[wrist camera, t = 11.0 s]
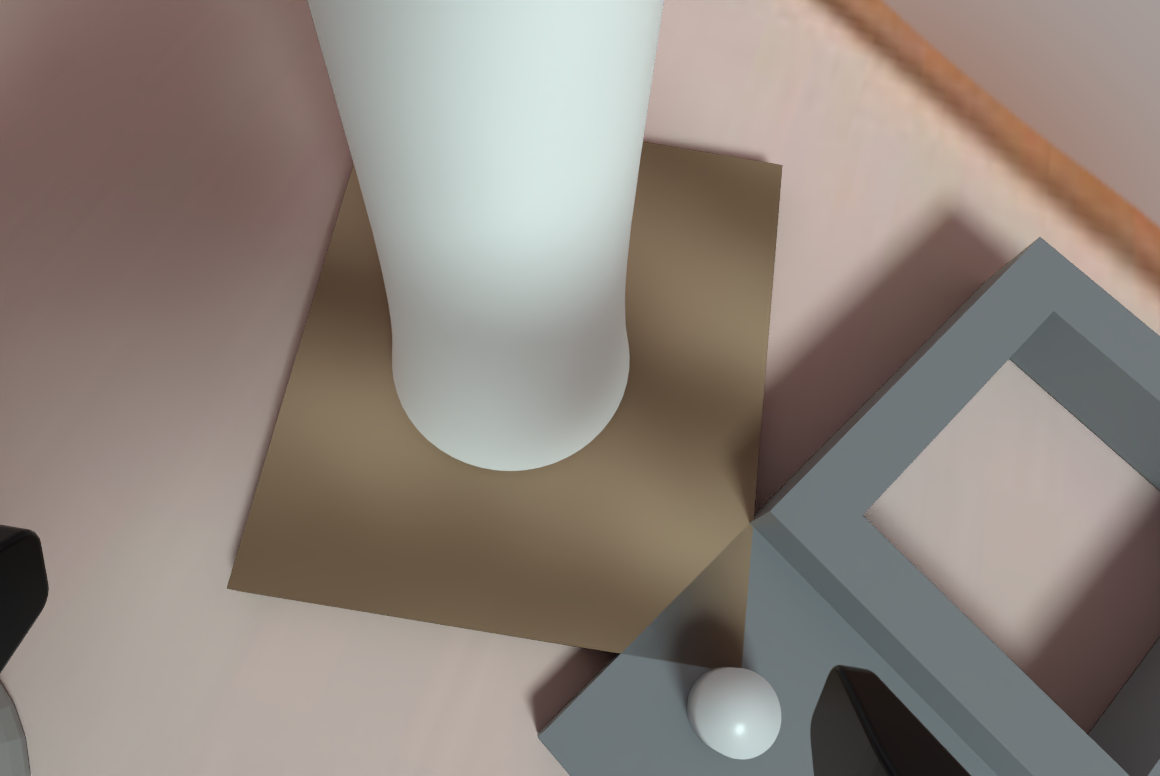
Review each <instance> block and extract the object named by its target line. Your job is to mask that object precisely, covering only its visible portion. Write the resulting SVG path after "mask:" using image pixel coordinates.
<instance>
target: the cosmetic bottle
mask: <svg viewBox="0 0 1160 776" xmlns="http://www.w3.org/2000/svg"><path fill="white" fill-rule="evenodd" d="M307 1H308V5H309V8H310V12H311V15H312V19H313V22H314V26H315V29H316V33H317V36H318V40H319V43H320V47H321V50H322V54H323V57H324V61H325V64H326V68H327V72H328V75H329V79H330V82H331V86H332V89H333V93H334V96H335V100H336V103H337V107H338V110H339V114H340V117H341V121H342V124H343V128H344V131H345V135H346V138H347V142H348V145H349V149H350V152H351V156H352V159H353V163H354V166H355V170H356V174H357V177H358V181H359V184H360V188H361V192H362V195H363V199H364V203H365V206H366V210H367V214H368V218H369V221H370V225H371V229H372V232H373V236H374V240H375V245H376V249H377V253H378V257H379V261H380V265H381V270H382V274H383V279H384V284H385V289H386V294H387V299H388V305H389V311H390V318H391V328H392V372H393V380H394V384H395V388H396V391H397V395H398V397H399V400H400V402H401V404H402V407H403V409H404V410H405V412H406V414H407V416H408V417H409V419H410V420H411V422H412V423H413V424H414V426H415V427H416V428H417V429H418V431H419V432H420V433H421V434H422V435H423V436H424V437H425V438H426V439H427V440H428V441H429V442H431V443H432V444H433V445H435V446H436V447H437V448H438V449H440V450H441V451H443V452H445V453H446V454H448V455H450V456H451V457H453V458H455V459H458V460H460V461H462V462H464V463H467V464H470V465H473V466H477V467H480V468H485V469H491V470H499V471H521V470H529V469H535V468H540V467H544V466H547V465H550V464H553V463H556V462H558V461H560V460H563V459H565V458H567V457H569V456H571V455H572V454H574V453H576V452H578V451H579V450H581V449H582V448H583V447H585V446H586V445H587V444H589V443H590V442H591V441H592V440H593V439H594V438H595V437H596V436H597V435H598V434H599V433H600V432H601V431H602V430H603V429H604V428H605V426H606V425H607V424H608V423H609V421H610V420H611V418H612V417H613V415H614V413H615V412H616V410H617V409H618V406H619V404H620V402H621V400H622V397H623V395H624V391H625V388H626V385H627V380H628V374H629V361H630V354H629V344H628V338H627V332H626V323H625V286H626V272H627V260H628V251H629V241H630V232H631V223H632V216H633V209H634V201H635V194H636V187H637V180H638V172H639V165H640V158H641V151H642V144H643V138H644V131H645V124H646V117H647V111H648V104H649V97H650V91H651V84H652V77H653V71H654V64H655V57H656V51H657V44H658V37H659V30H660V24H661V17H662V10H663V4H664V0H307Z"/></svg>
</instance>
